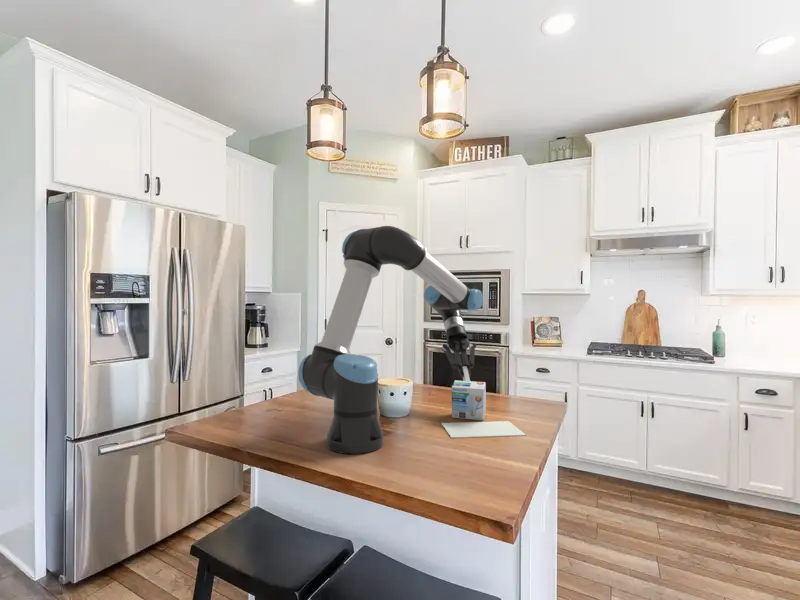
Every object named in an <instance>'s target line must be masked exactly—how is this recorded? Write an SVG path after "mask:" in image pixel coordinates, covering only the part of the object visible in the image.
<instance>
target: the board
mask: <svg viewBox="0 0 800 600" xmlns="http://www.w3.org/2000/svg"><path fill="white" fill-rule="evenodd" d="M441 426H442V428H445V429H444V430H445V431H446V433H447V434H448V435H450V436H449V437H450V438H451V439H465V438H466V439H467V438H496V437H497V438H498V437H523V436H524V437H525V436H527V435H526V433H525V432H523V431H522V430H521V429H520V428H518V427H517V426H515V425H514V424H513V423H512V422H510V421H509V420H504V421H500V420H498V421H497V420H496V421H469V422H466V421H465V422H464V421H463V422H441Z"/></svg>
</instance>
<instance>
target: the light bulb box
mask: <svg viewBox="0 0 800 600" xmlns="http://www.w3.org/2000/svg"><path fill="white" fill-rule="evenodd" d="M486 384H487V383H486V382H485V381H473V380H472V381H471V380H470V381H463V380H456V379H455V380H454V382H453V384H452V385H451V418H452V419H454V418H456V419H464V420H471V421H480V422H484V420H485V416H486V412H487V410H486V409H487V407H486V406H487V405H486V404H487V402H486V401H487V400H486V399H487V398H486V397H487V392H486V390H487V389H486V388H487V387H486V386H487V385H486Z"/></svg>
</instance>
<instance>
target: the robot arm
mask: <svg viewBox="0 0 800 600" xmlns="http://www.w3.org/2000/svg"><path fill="white" fill-rule="evenodd" d="M341 252H342V257H343V265H344V268H345V272H344V275H343V278H342V282H341V284H340V286H339V290H338V293H337V296H336V298H335V300H334V301H335V302H334V304H333V308H332V310H331V314H330V316H329V318H328V321H327V323H326V327H325V330H324V333H323V336H322V339H321V341H320V342H318V343H316V344H314V346H313V349H312V352H311V354H308V355H307V356H306V357H304V358H303V359H302V360H301V361H300V364H299V366H298V370H297V371H298V373H297V374H298V377H297V378H298V381H299V383H300V386H301V387H302V388H303V389H304V390H305V392H308V393H309V394H312V395H313V396H316V397H321V398H325V399H329V400H331V401H332V400H333V417H332V420H331V423H330V427H329V430H328V433H327V435H326V446H328V447H329V448H330V449H329V448H328V447H327V448H328V449H329V450H331V449H332V450H331V451H333V450H335V451H338V452H337V453H339V452H342V453H341V454H345V453H351V454H350V455H359V454H367V453H370V452H375V451H377V450H379V449H380V448H382V447H383V446H384V433H383V429H382V426H381V423H380V420H379V417H378V394H379V393H378V387H379V373H378V364H377V362H376V360H374V359H373V358H372V357H369V356H366V355H362V354H359V355H358V354H351V352H350V347H351V346H352V345H351V344H352V342H353V339H354V336H355V333H356V330H357V328H358V323H359V322H360V320H359V319H360V317H361V315H362V311H363V308H364V305H365V301H366V299H367V296H368V293H369V290H370V287H371V284H372V281H373V278H376V277H378V276H379V274H380V271H381V269H382V266H384V265H395V266H399V267H401V268H402V269H404V270H405V271H411V272H412V273H414V274H415V275H417V276H418V278H419V277H420V278H421V279H422V280H423V281H425V282H426V284H428V285H429V286H427V288H426V289H425V290H424V292H423V298H424V300H425V301H426V303H427V304H428V305H429V306H430V307H431V308H432V309H434V310H435V311H436V313H438V314H439V316H440V317H441V318H442V321H443V326H444V330H445V336H446V341H447V342H446V343H443V344H442V347H441V350H442V352H443V353H444V354H445V356H446V358H447V359H448V362H449V363H450V365H451V368H452V369H453V370H455V369H456V370H457V372H458V374H459V377H460V378H462V381H471V379H470V378H471V375H472V372H471V370H472V369H474V366H475V354H476V353H475V351H476V347H477V344H475V343H471V342H470V341H469V339H468V335H467V331H466V327H465V322H464V318H463V315H462V311H478V310H480V309H481V308H482V306H483V303H484V295H483V293H482V291H481V290H480V289H476V288H469V287H468V286H467V285H465V284H464V283H463V282H462V281H461V280H459V279H458V278H457V277H456V276H455V275H454V274H453V273H451V271H449V270H448V269H447V268H446V267H445V266H444V265H442V263H441V262H439V261H438V260H437V259H435V258H434V257H433V256H432V255H431V254H430V253H428V251H427V248H426V246H425V244H423V243H422V241H420V240H418V239H417V238H416V237H415V236H413V235H412V234H410V233H408V231H405V230H403V229H401V228H399V227H396V226H393V225H381V226H377V227H371V228H360V229H357V230H354V231H352V232H351V233H349V234H348V235H347V236H346V237H345V238H344V241H343V243H342V247H341ZM468 349H469V351H470V352H469V359H468V354H467V353H468V352H467V350H468ZM452 351H453V353H452ZM335 451H334V452H335Z"/></svg>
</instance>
